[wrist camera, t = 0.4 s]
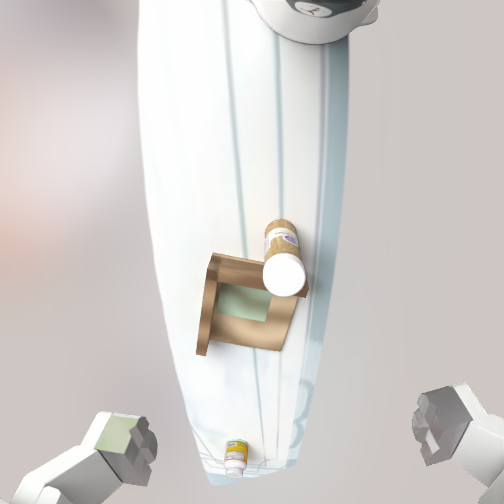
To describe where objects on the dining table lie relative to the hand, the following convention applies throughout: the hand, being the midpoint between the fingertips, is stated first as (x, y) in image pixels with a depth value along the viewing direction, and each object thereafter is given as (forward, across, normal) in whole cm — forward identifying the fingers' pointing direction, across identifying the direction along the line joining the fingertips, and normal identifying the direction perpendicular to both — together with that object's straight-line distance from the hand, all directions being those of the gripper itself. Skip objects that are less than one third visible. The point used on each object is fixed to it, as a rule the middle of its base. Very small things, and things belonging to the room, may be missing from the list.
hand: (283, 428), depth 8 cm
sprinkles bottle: (+38, -1, +5) cm, 39 cm away
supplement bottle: (+44, +13, +59) cm, 75 cm away
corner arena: (+40, +5, +16) cm, 43 cm away
